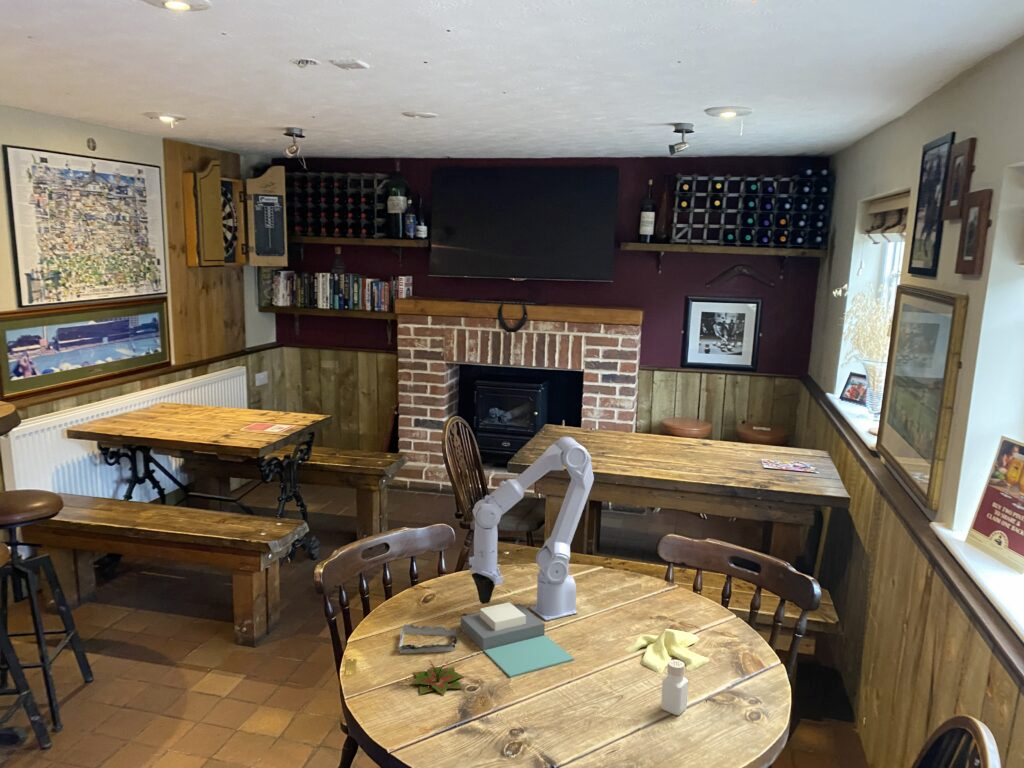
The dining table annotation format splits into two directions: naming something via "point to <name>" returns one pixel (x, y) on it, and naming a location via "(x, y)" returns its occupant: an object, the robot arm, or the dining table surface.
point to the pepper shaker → (674, 688)
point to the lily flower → (438, 673)
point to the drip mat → (528, 656)
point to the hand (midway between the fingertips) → (484, 602)
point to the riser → (492, 638)
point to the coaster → (502, 616)
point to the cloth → (668, 650)
